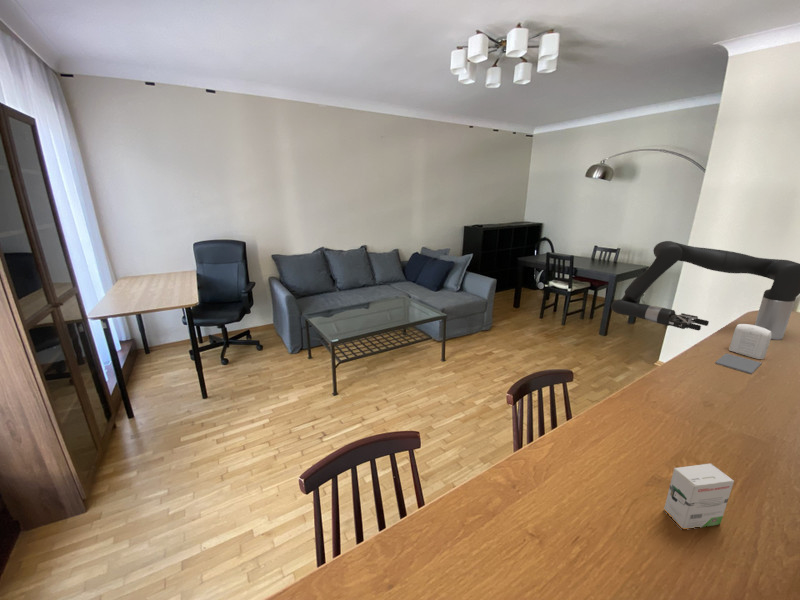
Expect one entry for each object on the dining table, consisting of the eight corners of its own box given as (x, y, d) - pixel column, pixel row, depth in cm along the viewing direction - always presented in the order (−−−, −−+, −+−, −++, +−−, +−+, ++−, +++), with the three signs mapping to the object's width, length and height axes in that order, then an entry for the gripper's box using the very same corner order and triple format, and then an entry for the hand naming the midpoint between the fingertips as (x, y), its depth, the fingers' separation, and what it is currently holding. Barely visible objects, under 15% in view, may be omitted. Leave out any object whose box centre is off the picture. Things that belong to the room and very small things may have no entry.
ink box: (698, 504, 72) (711, 461, 69) (722, 526, 68) (736, 480, 64) (661, 509, 72) (672, 465, 68) (682, 531, 67) (695, 486, 63)
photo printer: (766, 358, 129) (775, 328, 125) (761, 361, 127) (771, 331, 123) (731, 348, 138) (739, 320, 134) (726, 351, 136) (734, 322, 132)
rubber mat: (725, 354, 133) (726, 353, 133) (761, 364, 125) (761, 362, 125) (714, 363, 127) (715, 362, 127) (751, 374, 119) (751, 372, 119)
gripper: (654, 311, 150) (700, 321, 137) (668, 304, 157) (712, 314, 144) (651, 326, 152) (695, 338, 139) (664, 319, 159) (708, 329, 146)
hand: (704, 325), depth 142 cm, fingers open, 8 cm apart
